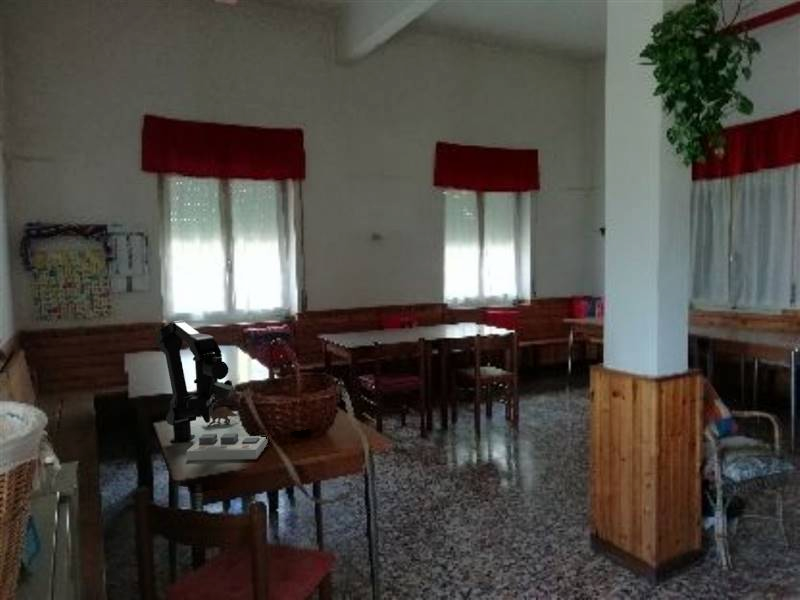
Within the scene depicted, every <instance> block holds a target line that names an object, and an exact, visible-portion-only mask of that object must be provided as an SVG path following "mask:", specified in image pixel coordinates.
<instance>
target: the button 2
mask: <svg viewBox="0 0 800 600" xmlns="http://www.w3.org/2000/svg"><path fill="white" fill-rule="evenodd" d="M258 441H259V437H257V438H245V439H244V440H243V442H242V444H256V443H257V442H258Z"/></svg>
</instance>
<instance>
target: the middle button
mask: <svg viewBox="0 0 800 600" xmlns="http://www.w3.org/2000/svg"><path fill="white" fill-rule="evenodd" d="M220 437H221V438H220V439H221V444H235V443H236V442H237V441H238V437H239V433H236V432H235V433H224V434H223V435H221V436H220Z"/></svg>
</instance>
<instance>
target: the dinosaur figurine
mask: <svg viewBox="0 0 800 600" xmlns="http://www.w3.org/2000/svg"><path fill="white" fill-rule="evenodd" d="M214 407H215V408H214ZM213 408H214V409H212V414H211V418H210V419H212V421H210V422H209V423H208V424H207V426H206V427H211V426H212V425H213V424H216V423H217V424H218V423H220V422H221V420H222V419H223V420H224V421H223V423H225V425H226V426H230V424H231V419H230V418H229V417H233V418H234V417H237V416H238V415H239V414H238V415H237V413H235V412H232V410H231V409H229V408H228V407H227V406H219V404H218V403H217V402H216V403H215V404H214V405H213ZM217 419H218V420H217ZM216 420H217V421H216Z"/></svg>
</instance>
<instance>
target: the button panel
mask: <svg viewBox="0 0 800 600" xmlns="http://www.w3.org/2000/svg"><path fill="white" fill-rule="evenodd" d="M261 436H262V435H256V436H255V435H254V436H253V435H249V436H246V435H245V436H238V441H237V442H236V443H235V444H221V439H220V438H221V437H222V436H217V442H216V443H214V444H213V445H199V440H198V441H196V442H195V443H194V444H192V445H191V446H190V447H189V448H188V449H187V450H186V461H219V460H221V461H222V460H257V459H258V458H259V456H260V455H261V454H262V453H263V451H264V450H265V449H266V448H265V447H267V446H268V445H267V443H268V438H267V439H266V437H261ZM257 437H259V441H258V442H257V443H256V444H242V442H243V440H244V439H245V438H257ZM266 445H267V446H266ZM264 448H265V449H264ZM261 452H262V453H261Z"/></svg>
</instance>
